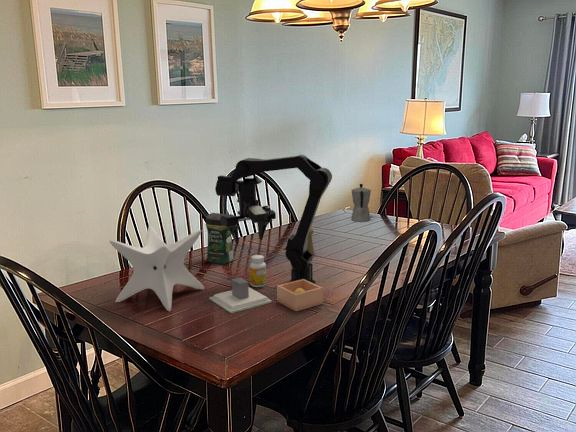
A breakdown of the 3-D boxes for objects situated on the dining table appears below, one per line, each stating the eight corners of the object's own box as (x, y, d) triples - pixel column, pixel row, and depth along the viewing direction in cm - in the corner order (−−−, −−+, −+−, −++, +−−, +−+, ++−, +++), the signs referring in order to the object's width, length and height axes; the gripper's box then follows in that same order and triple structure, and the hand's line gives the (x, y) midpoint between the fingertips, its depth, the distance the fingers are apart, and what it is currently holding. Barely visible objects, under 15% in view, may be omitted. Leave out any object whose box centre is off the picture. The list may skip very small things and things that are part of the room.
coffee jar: (204, 262, 207) (201, 214, 202) (215, 256, 214) (213, 210, 209) (225, 265, 202) (223, 216, 198) (236, 259, 209) (234, 212, 205)
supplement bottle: (248, 283, 183) (247, 255, 181) (263, 281, 185) (262, 253, 183) (253, 288, 178) (252, 259, 176) (268, 286, 180) (267, 257, 178)
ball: (301, 296, 168) (301, 285, 167) (308, 300, 165) (308, 288, 164) (291, 299, 166) (291, 288, 165) (298, 302, 163) (298, 291, 163)
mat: (248, 289, 177) (248, 287, 177) (271, 302, 166) (271, 300, 166) (209, 299, 170) (209, 297, 170) (231, 313, 159) (230, 311, 158)
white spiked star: (154, 282, 186) (149, 225, 182) (204, 289, 179) (201, 230, 174) (114, 303, 168) (108, 240, 164) (169, 311, 161) (164, 246, 156)
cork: (305, 251, 219) (304, 224, 216) (317, 254, 215) (317, 226, 212) (295, 255, 214) (295, 227, 212) (308, 257, 210) (307, 229, 208)
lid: (247, 289, 176) (246, 271, 175) (267, 300, 166) (266, 281, 165) (214, 297, 169) (213, 279, 168) (232, 309, 160) (231, 290, 158)
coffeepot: (350, 217, 277) (351, 181, 273) (369, 217, 276) (370, 181, 272) (351, 224, 262) (352, 187, 258) (371, 224, 261) (372, 186, 257)
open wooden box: (303, 293, 173) (303, 278, 172) (323, 303, 165) (323, 287, 164) (277, 301, 167) (276, 285, 166) (296, 311, 159) (295, 295, 158)
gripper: (234, 204, 170) (236, 252, 174) (284, 196, 180) (285, 242, 184) (218, 198, 179) (220, 244, 183) (266, 192, 189) (267, 235, 193)
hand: (249, 242), depth 185 cm, fingers open, 9 cm apart
